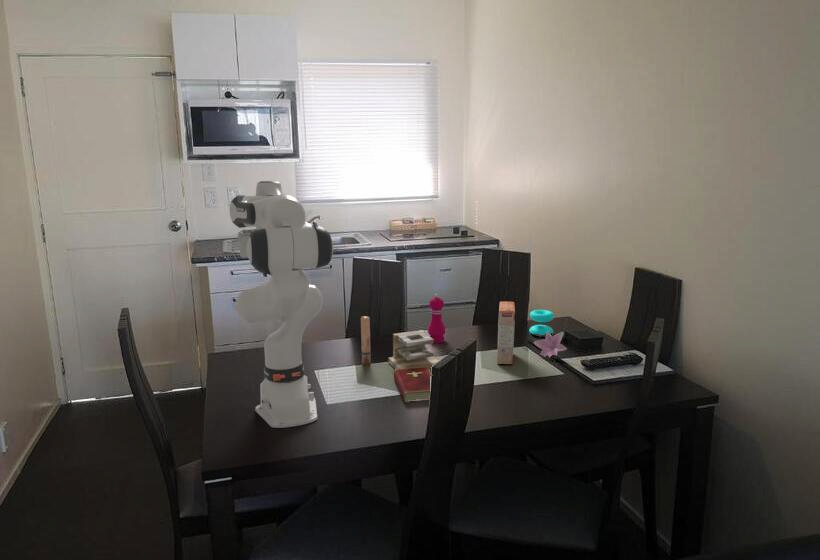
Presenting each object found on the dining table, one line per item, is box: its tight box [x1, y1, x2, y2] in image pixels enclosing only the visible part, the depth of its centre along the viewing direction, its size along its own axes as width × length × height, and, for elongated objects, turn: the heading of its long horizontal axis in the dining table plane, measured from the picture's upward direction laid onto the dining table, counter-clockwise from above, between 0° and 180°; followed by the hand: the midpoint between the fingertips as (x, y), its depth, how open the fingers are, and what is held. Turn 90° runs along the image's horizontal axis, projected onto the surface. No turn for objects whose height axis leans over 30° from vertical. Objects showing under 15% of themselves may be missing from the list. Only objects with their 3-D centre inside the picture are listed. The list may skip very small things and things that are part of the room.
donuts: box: [529, 309, 555, 335], centre depth 265 cm, size 10×10×10 cm
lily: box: [533, 331, 568, 358], centre depth 239 cm, size 12×12×10 cm
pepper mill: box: [427, 293, 446, 344], centre depth 257 cm, size 7×7×20 cm
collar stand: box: [387, 329, 440, 370], centre depth 230 cm, size 14×16×11 cm
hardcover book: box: [393, 367, 432, 402], centre depth 210 cm, size 12×21×4 cm, turn 10°
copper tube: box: [360, 315, 372, 366], centre depth 232 cm, size 3×3×18 cm
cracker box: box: [496, 301, 516, 365], centre depth 235 cm, size 14×6×21 cm, turn 171°
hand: (271, 269), depth 212 cm, fingers open, 8 cm apart
